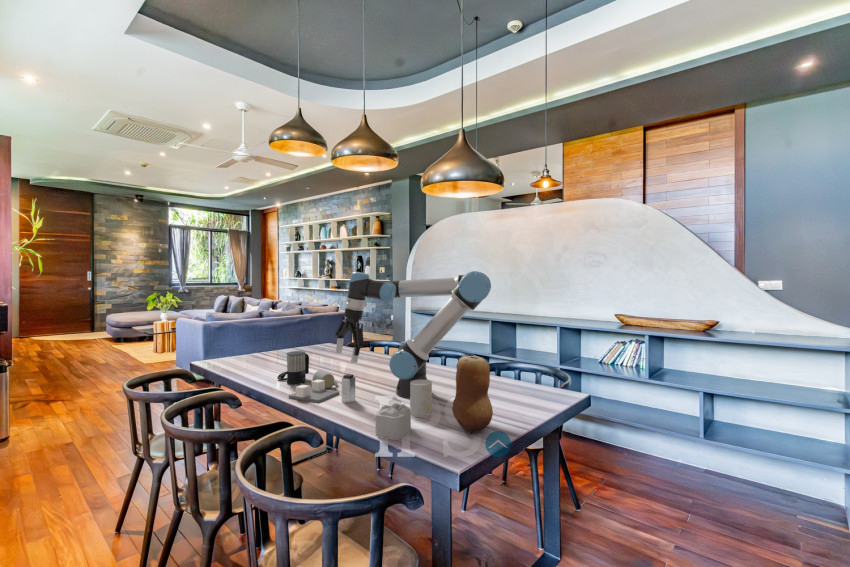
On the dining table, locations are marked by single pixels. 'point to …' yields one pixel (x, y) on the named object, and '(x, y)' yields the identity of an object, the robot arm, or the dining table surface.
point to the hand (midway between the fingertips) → (345, 357)
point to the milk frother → (296, 367)
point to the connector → (348, 388)
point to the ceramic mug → (325, 378)
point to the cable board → (313, 392)
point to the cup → (421, 398)
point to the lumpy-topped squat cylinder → (393, 422)
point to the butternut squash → (472, 394)
